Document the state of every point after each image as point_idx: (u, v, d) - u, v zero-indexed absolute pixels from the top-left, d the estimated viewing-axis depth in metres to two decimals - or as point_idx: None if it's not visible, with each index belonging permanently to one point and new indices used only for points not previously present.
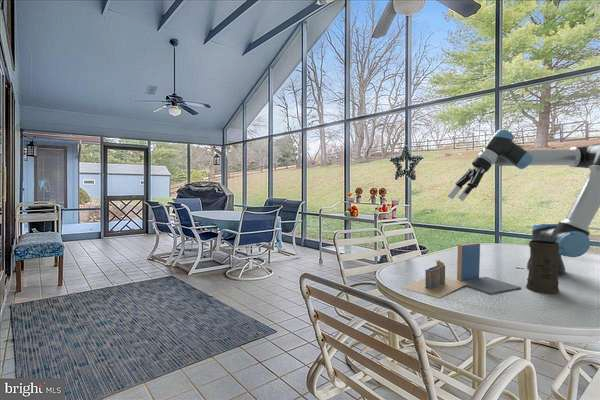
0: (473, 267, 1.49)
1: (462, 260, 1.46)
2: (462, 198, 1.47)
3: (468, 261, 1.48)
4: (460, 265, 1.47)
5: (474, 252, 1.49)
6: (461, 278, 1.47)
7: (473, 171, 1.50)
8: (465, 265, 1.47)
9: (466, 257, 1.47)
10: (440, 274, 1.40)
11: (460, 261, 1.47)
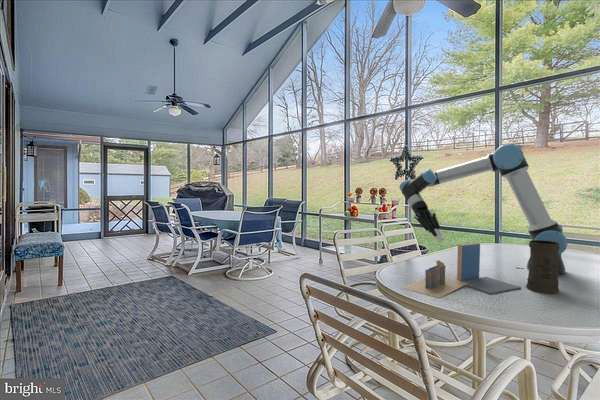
0: (473, 267, 1.49)
1: (462, 260, 1.46)
2: (439, 239, 1.63)
3: (468, 261, 1.48)
4: (460, 265, 1.47)
5: (474, 252, 1.49)
6: (461, 278, 1.47)
7: None
8: (465, 265, 1.47)
9: (466, 257, 1.47)
10: (440, 274, 1.40)
11: (460, 261, 1.47)
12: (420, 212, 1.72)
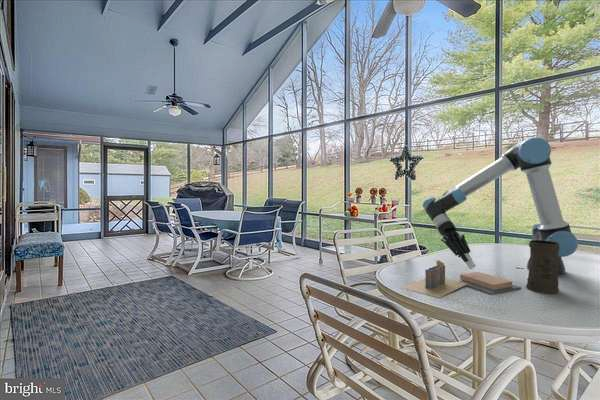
0: None
1: (479, 285, 1.39)
2: (471, 265, 1.47)
3: None
4: (473, 282, 1.41)
5: None
6: (463, 279, 1.46)
7: None
8: None
9: None
10: (440, 274, 1.40)
11: (477, 283, 1.39)
12: (448, 234, 1.56)
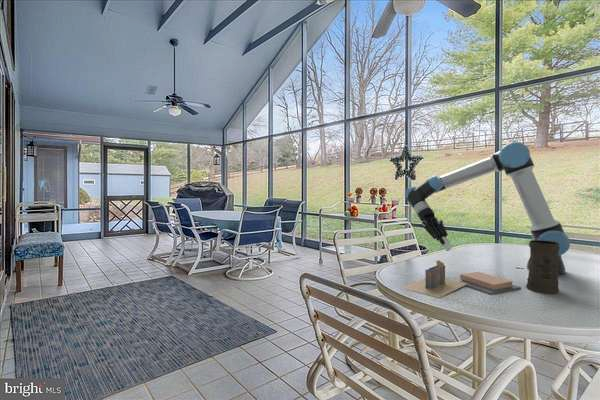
0: None
1: (479, 285, 1.39)
2: (447, 247, 1.59)
3: None
4: (473, 282, 1.41)
5: None
6: (463, 279, 1.46)
7: None
8: None
9: None
10: (440, 274, 1.40)
11: (477, 283, 1.39)
12: (427, 220, 1.68)
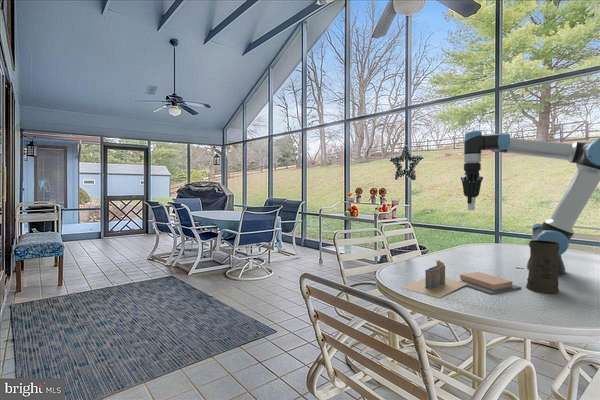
0: None
1: (479, 285, 1.39)
2: (470, 208, 1.67)
3: None
4: (473, 282, 1.41)
5: None
6: (463, 279, 1.46)
7: None
8: None
9: None
10: (440, 274, 1.40)
11: (477, 283, 1.39)
12: (469, 175, 1.65)
